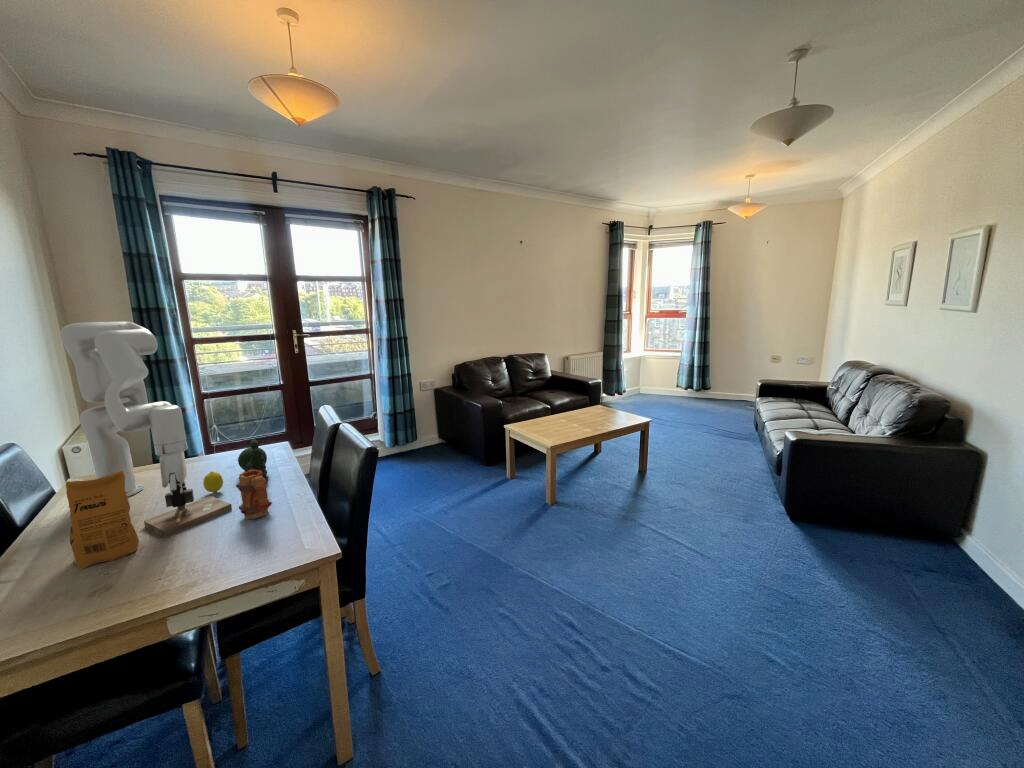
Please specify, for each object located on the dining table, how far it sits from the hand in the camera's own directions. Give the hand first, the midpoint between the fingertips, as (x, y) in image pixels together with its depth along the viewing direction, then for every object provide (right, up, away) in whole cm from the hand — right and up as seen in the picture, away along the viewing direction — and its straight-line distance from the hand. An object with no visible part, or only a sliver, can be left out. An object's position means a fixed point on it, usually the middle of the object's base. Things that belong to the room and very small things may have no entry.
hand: (180, 502), depth 125 cm
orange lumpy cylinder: (+24, -6, +1) cm, 24 cm away
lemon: (-2, -2, +18) cm, 18 cm away
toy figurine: (+5, 0, +29) cm, 30 cm away
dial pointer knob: (+2, -4, -2) cm, 5 cm away
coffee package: (-5, -9, -17) cm, 20 cm away
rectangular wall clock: (+2, -5, +1) cm, 6 cm away
